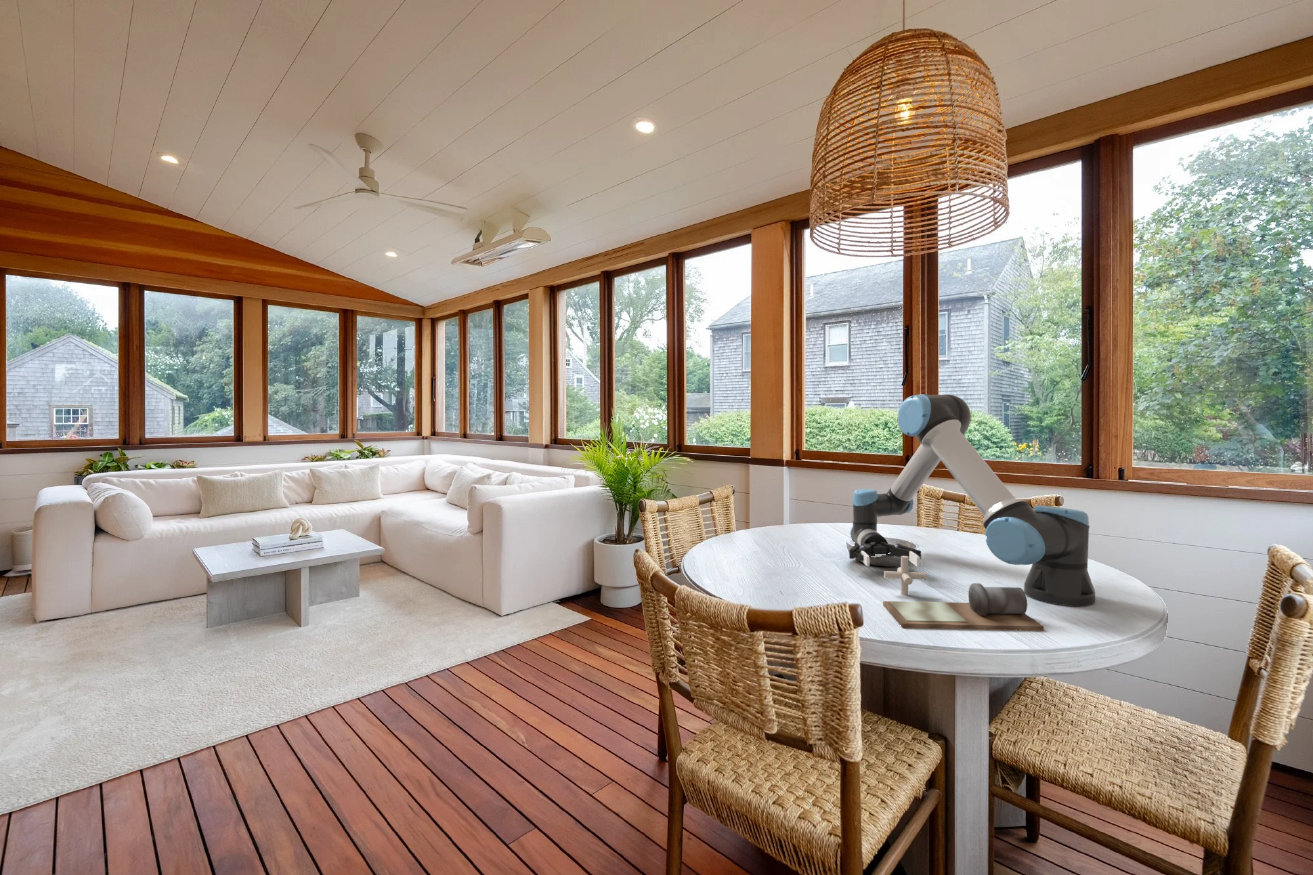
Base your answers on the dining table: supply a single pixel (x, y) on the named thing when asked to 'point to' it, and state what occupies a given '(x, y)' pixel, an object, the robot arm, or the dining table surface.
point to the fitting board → (969, 611)
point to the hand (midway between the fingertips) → (893, 561)
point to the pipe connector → (904, 575)
